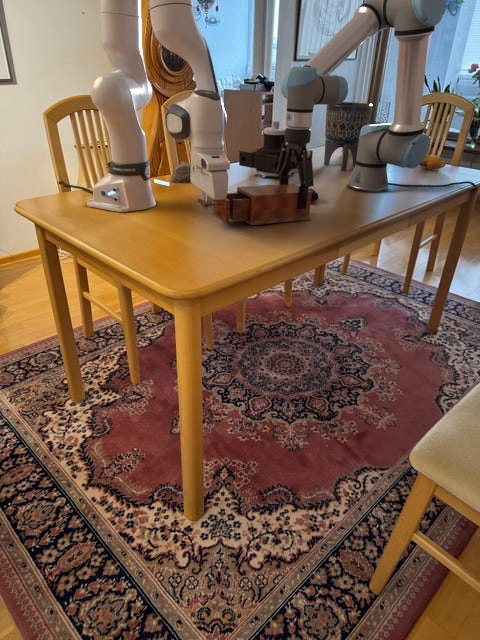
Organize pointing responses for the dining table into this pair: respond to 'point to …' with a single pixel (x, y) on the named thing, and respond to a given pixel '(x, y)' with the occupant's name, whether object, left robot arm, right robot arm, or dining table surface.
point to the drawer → (230, 207)
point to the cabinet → (275, 203)
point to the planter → (345, 129)
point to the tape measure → (313, 195)
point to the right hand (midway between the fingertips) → (291, 203)
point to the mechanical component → (267, 153)
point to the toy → (432, 162)
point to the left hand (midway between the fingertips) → (207, 207)
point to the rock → (182, 173)
